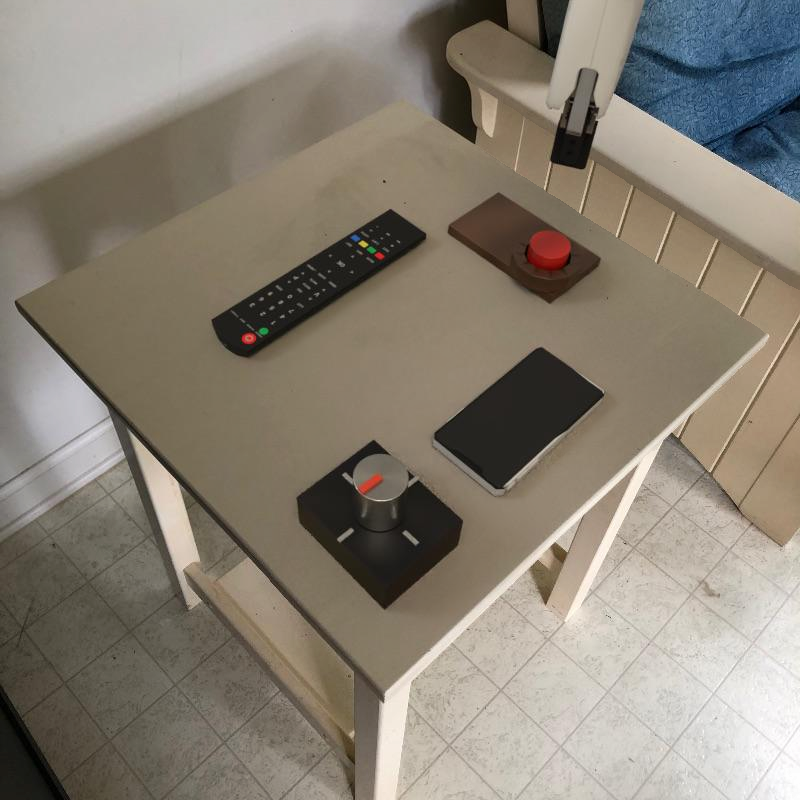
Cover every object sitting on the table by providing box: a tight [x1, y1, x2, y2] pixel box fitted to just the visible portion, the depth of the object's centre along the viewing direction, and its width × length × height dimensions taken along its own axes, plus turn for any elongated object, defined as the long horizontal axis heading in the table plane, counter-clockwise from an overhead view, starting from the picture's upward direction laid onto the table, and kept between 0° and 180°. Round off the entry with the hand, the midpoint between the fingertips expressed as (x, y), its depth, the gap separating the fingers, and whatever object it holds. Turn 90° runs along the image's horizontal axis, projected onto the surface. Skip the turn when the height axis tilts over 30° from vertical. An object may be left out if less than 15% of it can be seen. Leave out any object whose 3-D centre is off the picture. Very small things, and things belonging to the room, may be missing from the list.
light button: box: [527, 231, 571, 271], centre depth 81 cm, size 4×4×2 cm
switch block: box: [447, 192, 602, 305], centre depth 85 cm, size 14×9×3 cm, turn 45°
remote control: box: [210, 208, 427, 357], centre depth 81 cm, size 5×24×1 cm, turn 135°
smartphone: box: [432, 346, 606, 497], centre depth 72 cm, size 8×1×15 cm
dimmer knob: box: [353, 454, 409, 532], centre depth 60 cm, size 4×4×5 cm
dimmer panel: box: [296, 439, 464, 610], centre depth 64 cm, size 10×8×4 cm
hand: (568, 160), depth 73 cm, fingers closed
